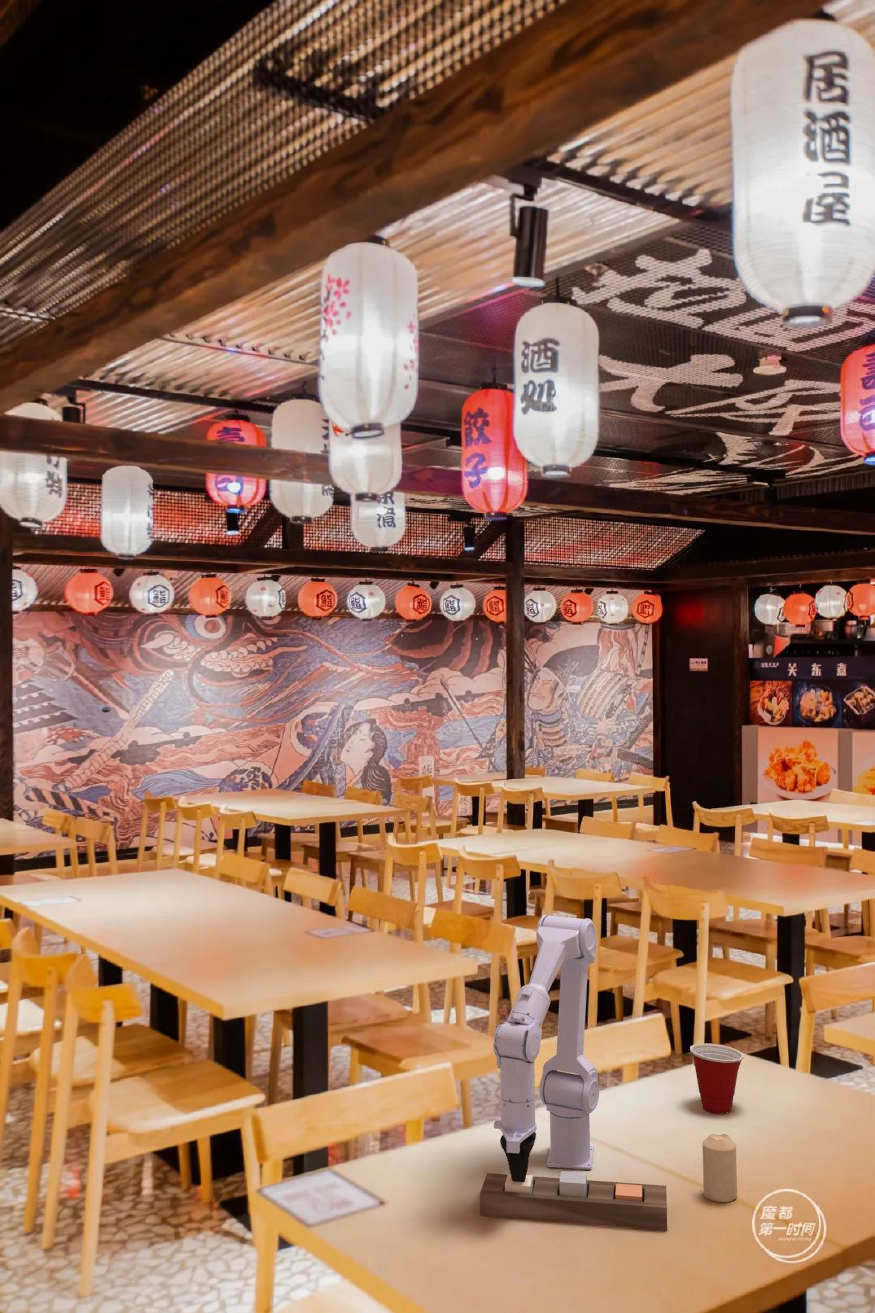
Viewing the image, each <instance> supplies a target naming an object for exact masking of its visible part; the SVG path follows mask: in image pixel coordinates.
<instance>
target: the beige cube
mask: <svg viewBox="0 0 875 1313" xmlns="http://www.w3.org/2000/svg"><path fill="white" fill-rule="evenodd" d="M533 1176H534V1175H533V1174H527V1175H526V1179H525V1182H514V1181H512V1178H511V1174H510V1173H508V1176H507V1179H506V1182H505V1192H519V1193H532V1194H533Z"/></svg>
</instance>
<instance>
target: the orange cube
mask: <svg viewBox="0 0 875 1313" xmlns="http://www.w3.org/2000/svg"><path fill="white" fill-rule="evenodd" d="M615 1198H616V1200H626V1201H639V1202H642V1185H629V1184H616V1194H615Z"/></svg>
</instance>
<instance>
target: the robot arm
mask: <svg viewBox="0 0 875 1313" xmlns="http://www.w3.org/2000/svg"><path fill="white" fill-rule="evenodd" d="M536 925H537V926H536V930H535V931H536V933H535V936H536V944H537V948H538V951H537V954H536V958H535V962H534V964H533V969H532V972H531V975H530V978H529V981H528V984H525V985H523V986H521V987H520V988H519V991H518V993H517V995H516V998H515V1000H514V1003H513V1005H512V1007H511V1009H510V1012H509V1015H508V1017H507V1020H506V1021H505V1022H504V1023H502V1024H499V1025H498V1027H497V1028H496V1030H495V1032H494V1037H493V1042H492V1047H493V1048H492V1049H493V1052H494V1055H495V1057H496V1066H497V1068H498V1069H499V1072H500V1073H499V1074H500V1077H499V1078H500V1081H499V1082H500V1084H499V1085H500V1119H497V1120H495V1121H494V1122H493V1128H494V1129H496V1130H498V1129H499V1130H500V1131H501V1133H502V1134H501V1136H500V1139H499V1140H500V1141H499V1142H500V1147H501V1149H502V1150H503V1153H504V1154H505V1157H506V1160H507V1164H508V1169H509V1174H511V1178H512V1181H514V1182H525V1179H526V1175H528V1173H527V1172H528V1168H529V1160H530V1156H531V1155H530V1154H531V1152H532V1150H533V1148H534V1145H535V1142H536V1139H537V1133H536V1131H537V1122H536V1090H535V1089H536V1088H535V1084H536V1083H535V1077H536V1076H535V1061H536V1059H537V1058H538V1056H539V1053H540V1049H541V1042H542V1039H541V1038H542V1036H543V1030H542V1027H543V1025H544V1024H543V1023H544V1020H545V1018H546V1015H547V1012H548V1010H549V1007H550V1004H551V997H550V995H549V994H548V993H549V990H550V988H551V986H552V984H553V983H554V981H555V979H556V976H557V975H558V972H559V971H560V980H559V981H560V983H559V988H560V989H559V1000H558V1002H559V1003H558V1015H557V1016H558V1018H557V1038H556V1054H555V1055H554V1056H552V1057H551V1058H549V1059H548V1060H546V1061H545V1062H544V1063H543V1066H542V1074H541V1078H540V1081H539V1087H538V1088H539V1090H538V1092H539V1094H538V1095H539V1098H540V1101H541V1102H542V1104H543V1105H545V1106H546V1107H545V1109H546V1111H547V1112H549V1130H550V1131H549V1134H550V1135H549V1137H550V1143H549V1144H550V1148H549V1152H548V1157H547V1161H546V1166H547V1168H562V1169H572V1170H573V1169H576V1170H588V1171H589V1170H592V1168H593V1159H594V1150H595V1148H594V1146H593V1145H591V1136H590V1135H591V1132H590V1130H591V1128H590V1122H591V1121H590V1114H591V1113H593V1111H595V1109H596V1107H597V1106H598V1103H599V1098H600V1087H599V1081H598V1080H599V1079H598V1074H599V1073H598V1069H597V1068H596V1066H594V1064H593V1063H591V1062H590V1060H588V1058H586V1056H585V1055H584V1050H585V1049H584V1048H585V1047H584V1046H585V1044H584V1043H585V1025H586V1008H587V1006H586V1005H587V989H588V988H587V987H588V986H587V984H588V969H589V965H591V964H593V963H595V962H596V956H597V942H598V940H597V938H598V933H597V932H598V931H597V928H596V926H595V923H594V921H592V919H591V918H587V917H586V918H577V917H568V916H557V915H550V914H543V915H542V916H541V917H540V919H539V921H538V922H537V924H536Z"/></svg>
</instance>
